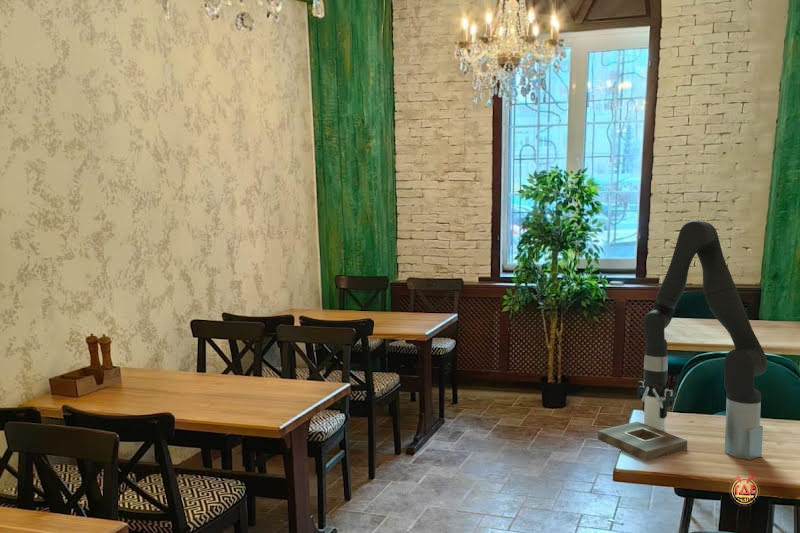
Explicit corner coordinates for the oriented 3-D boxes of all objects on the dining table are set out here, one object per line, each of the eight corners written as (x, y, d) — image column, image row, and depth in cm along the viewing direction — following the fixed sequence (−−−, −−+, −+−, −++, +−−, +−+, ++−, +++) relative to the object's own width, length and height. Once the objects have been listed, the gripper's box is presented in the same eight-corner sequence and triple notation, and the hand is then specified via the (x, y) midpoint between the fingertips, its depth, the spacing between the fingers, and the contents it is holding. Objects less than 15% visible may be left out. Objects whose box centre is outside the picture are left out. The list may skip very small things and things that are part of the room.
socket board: (687, 449, 196) (687, 439, 196) (646, 461, 188) (646, 450, 188) (636, 429, 214) (637, 420, 214) (597, 439, 206) (597, 430, 206)
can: (666, 432, 211) (666, 398, 210) (645, 431, 213) (646, 397, 211) (662, 426, 218) (662, 392, 216) (642, 424, 219) (643, 391, 218)
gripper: (681, 371, 208) (679, 419, 210) (646, 361, 221) (645, 407, 223) (665, 374, 205) (664, 423, 207) (631, 364, 218) (630, 410, 219)
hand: (654, 414), depth 215 cm, fingers closed on can, 6 cm apart
